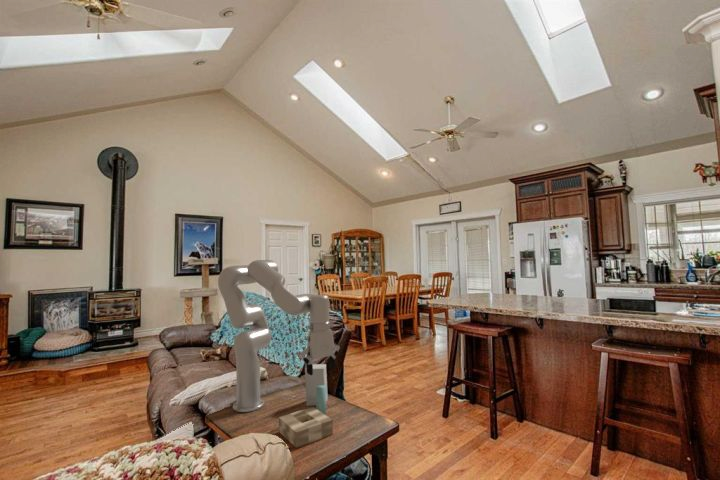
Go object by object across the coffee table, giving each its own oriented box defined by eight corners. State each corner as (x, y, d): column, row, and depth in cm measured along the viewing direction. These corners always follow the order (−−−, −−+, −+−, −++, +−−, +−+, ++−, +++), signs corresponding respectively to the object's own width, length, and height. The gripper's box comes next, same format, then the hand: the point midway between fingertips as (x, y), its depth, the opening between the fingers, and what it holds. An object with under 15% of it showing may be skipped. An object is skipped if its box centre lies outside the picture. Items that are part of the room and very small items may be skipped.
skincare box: (328, 400, 151) (327, 363, 152) (325, 406, 145) (324, 368, 145) (309, 399, 152) (308, 363, 153) (305, 406, 145) (304, 368, 146)
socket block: (278, 431, 124) (278, 417, 124) (313, 420, 132) (313, 406, 133) (296, 448, 113) (296, 432, 113) (332, 434, 121) (332, 419, 122)
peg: (314, 418, 134) (314, 386, 135) (323, 415, 136) (322, 384, 137) (319, 421, 131) (319, 389, 132) (327, 419, 133) (327, 387, 134)
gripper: (304, 331, 127) (305, 379, 126) (343, 325, 138) (344, 369, 137) (295, 328, 133) (296, 374, 132) (333, 322, 144) (334, 364, 143)
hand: (321, 371), depth 134 cm, fingers open, 9 cm apart
